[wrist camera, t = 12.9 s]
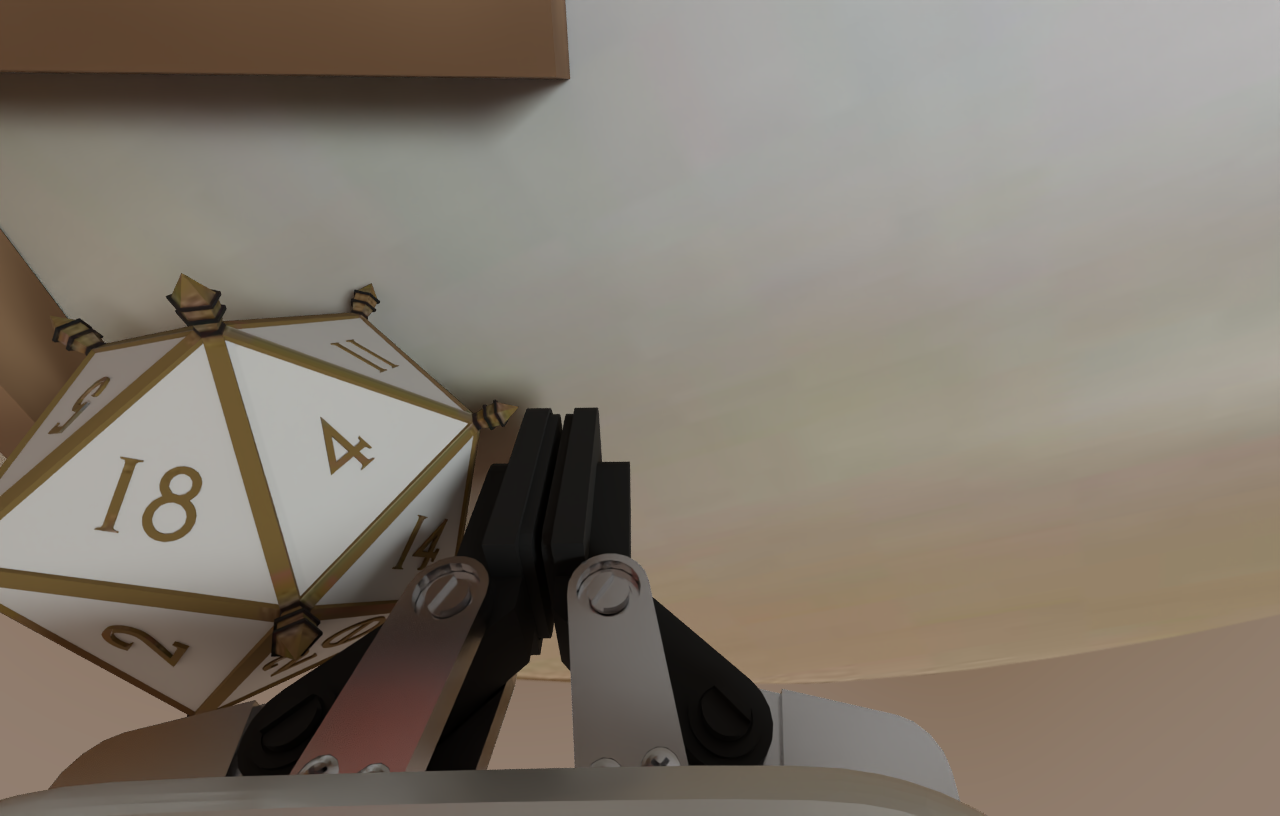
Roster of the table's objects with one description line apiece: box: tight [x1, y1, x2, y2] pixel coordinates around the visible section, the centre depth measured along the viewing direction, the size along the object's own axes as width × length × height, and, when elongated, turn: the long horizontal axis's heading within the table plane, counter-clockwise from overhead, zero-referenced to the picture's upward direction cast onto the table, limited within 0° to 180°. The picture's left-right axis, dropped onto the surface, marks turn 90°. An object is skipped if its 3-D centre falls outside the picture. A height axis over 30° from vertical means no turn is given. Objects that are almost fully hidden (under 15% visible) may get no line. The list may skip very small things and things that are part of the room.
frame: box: [0, 0, 570, 458], centre depth 12 cm, size 17×14×2 cm
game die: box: [0, 273, 518, 717], centre depth 10 cm, size 9×8×10 cm
